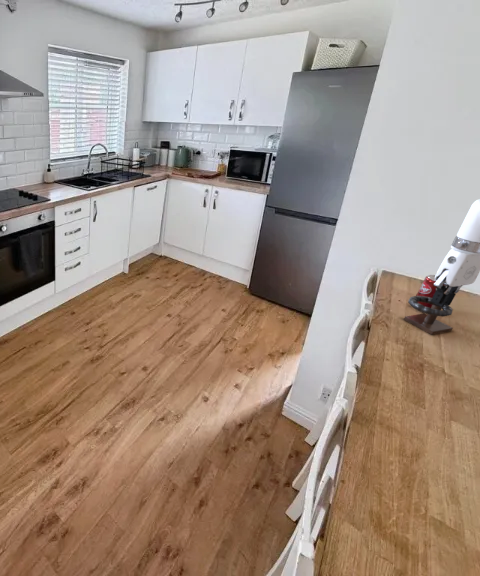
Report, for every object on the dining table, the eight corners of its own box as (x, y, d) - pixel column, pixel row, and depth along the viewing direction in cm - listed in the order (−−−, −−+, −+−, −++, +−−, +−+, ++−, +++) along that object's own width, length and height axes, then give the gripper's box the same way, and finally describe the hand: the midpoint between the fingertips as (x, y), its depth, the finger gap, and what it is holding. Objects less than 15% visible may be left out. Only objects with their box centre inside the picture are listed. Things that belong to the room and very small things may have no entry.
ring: (459, 315, 106) (462, 309, 105) (433, 319, 103) (436, 313, 102) (423, 298, 114) (426, 293, 113) (399, 301, 112) (401, 296, 111)
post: (451, 331, 118) (474, 292, 112) (431, 334, 116) (454, 295, 109) (422, 316, 126) (442, 279, 119) (403, 319, 124) (422, 281, 117)
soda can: (411, 309, 129) (427, 279, 124) (410, 301, 135) (425, 272, 129) (437, 317, 126) (455, 286, 120) (435, 308, 131) (452, 278, 126)
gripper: (466, 252, 96) (434, 313, 104) (506, 248, 100) (472, 306, 108) (435, 242, 102) (407, 300, 110) (474, 239, 106) (444, 295, 115)
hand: (440, 303), depth 109 cm, fingers closed on ring, 2 cm apart
